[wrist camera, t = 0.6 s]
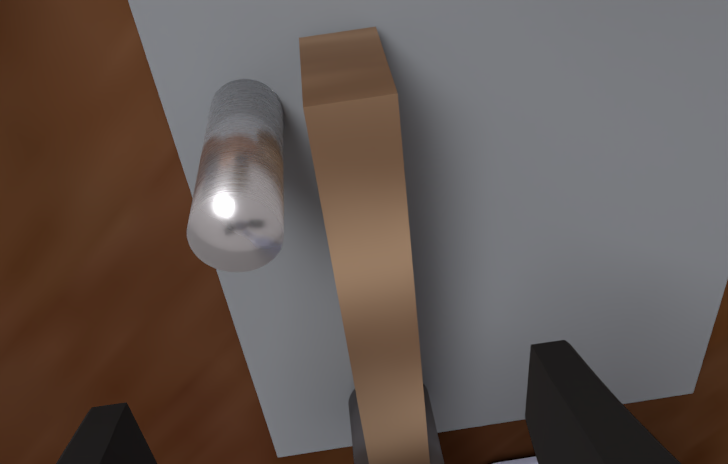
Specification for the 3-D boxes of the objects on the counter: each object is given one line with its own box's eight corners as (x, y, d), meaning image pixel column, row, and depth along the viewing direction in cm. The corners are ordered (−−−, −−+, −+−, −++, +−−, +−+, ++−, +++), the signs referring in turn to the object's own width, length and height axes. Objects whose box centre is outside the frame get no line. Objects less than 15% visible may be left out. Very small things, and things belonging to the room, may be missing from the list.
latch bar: (430, 419, 27) (462, 565, 22) (353, 431, 27) (369, 580, 22) (398, 23, 17) (445, 135, 12) (276, 40, 17) (273, 160, 12)
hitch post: (288, 133, 19) (291, 264, 14) (220, 143, 19) (200, 278, 14) (275, 69, 18) (273, 189, 13) (202, 79, 18) (174, 204, 13)
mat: (689, 387, 28) (693, 393, 28) (277, 451, 28) (277, 457, 28) (842, -131, 16) (850, -129, 16) (122, -27, 16) (120, -23, 16)
